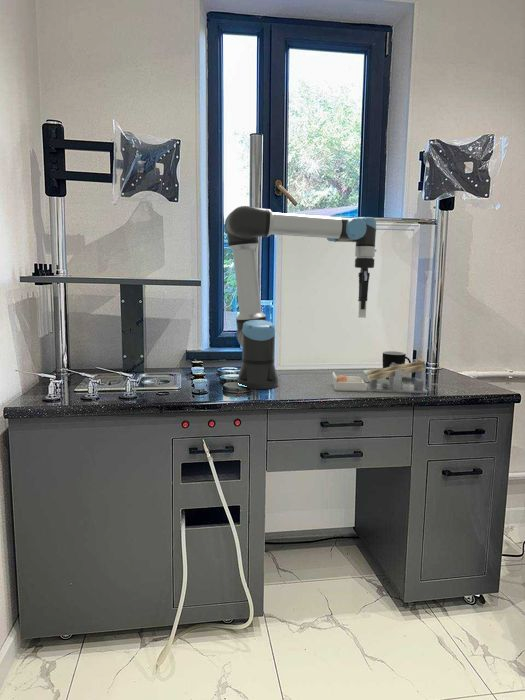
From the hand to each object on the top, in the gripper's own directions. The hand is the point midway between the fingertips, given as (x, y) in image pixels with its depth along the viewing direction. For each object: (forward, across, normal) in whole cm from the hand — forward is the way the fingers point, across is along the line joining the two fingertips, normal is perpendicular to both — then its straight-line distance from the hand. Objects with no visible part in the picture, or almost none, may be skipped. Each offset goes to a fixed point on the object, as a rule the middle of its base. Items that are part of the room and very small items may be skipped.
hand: (362, 317), depth 205 cm
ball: (+21, -23, +9) cm, 32 cm away
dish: (+24, -23, +6) cm, 34 cm away
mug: (+24, -1, -15) cm, 28 cm away
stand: (+24, -22, -10) cm, 34 cm away
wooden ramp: (+19, -18, -10) cm, 28 cm away
